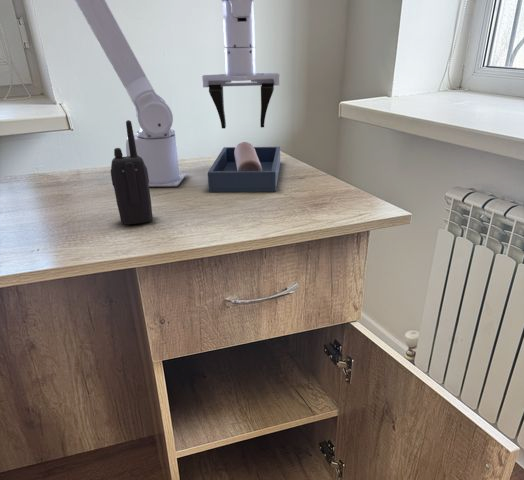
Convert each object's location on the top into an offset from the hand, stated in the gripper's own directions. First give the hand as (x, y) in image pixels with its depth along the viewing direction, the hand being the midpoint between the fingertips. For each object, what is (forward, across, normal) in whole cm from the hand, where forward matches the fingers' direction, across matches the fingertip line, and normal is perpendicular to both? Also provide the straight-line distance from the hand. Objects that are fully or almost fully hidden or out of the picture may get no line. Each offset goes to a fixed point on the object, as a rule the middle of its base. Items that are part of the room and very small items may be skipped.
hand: (243, 127), depth 99 cm
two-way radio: (+9, -17, -29) cm, 35 cm away
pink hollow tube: (+9, +1, -2) cm, 9 cm away
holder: (+9, +1, -1) cm, 9 cm away
